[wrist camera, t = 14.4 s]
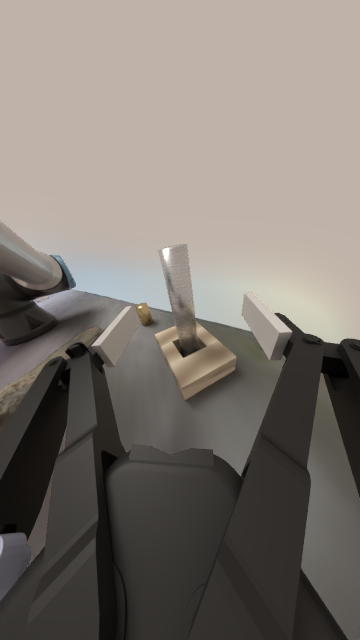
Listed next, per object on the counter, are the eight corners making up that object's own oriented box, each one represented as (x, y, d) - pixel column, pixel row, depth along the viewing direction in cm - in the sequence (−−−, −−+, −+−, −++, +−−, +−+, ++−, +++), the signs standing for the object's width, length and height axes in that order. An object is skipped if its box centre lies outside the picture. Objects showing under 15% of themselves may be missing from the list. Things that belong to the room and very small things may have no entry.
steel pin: (180, 354, 27) (154, 249, 16) (193, 347, 28) (179, 244, 17) (187, 366, 25) (163, 250, 14) (202, 358, 26) (192, 243, 14)
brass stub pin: (140, 322, 41) (133, 305, 38) (150, 318, 42) (145, 301, 39) (143, 327, 38) (136, 310, 35) (154, 322, 39) (148, 305, 36)
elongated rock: (117, 335, 40) (93, 336, 42) (109, 321, 37) (83, 323, 40) (-139, 594, 11) (-160, 541, 14) (-255, 611, 8) (-251, 542, 11)
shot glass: (37, 302, 81) (28, 292, 78) (36, 300, 86) (27, 291, 82) (50, 298, 85) (42, 288, 82) (48, 296, 90) (41, 287, 86)
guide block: (158, 345, 31) (154, 334, 29) (194, 329, 33) (192, 318, 31) (185, 400, 20) (181, 388, 18) (234, 369, 22) (236, 356, 20)
